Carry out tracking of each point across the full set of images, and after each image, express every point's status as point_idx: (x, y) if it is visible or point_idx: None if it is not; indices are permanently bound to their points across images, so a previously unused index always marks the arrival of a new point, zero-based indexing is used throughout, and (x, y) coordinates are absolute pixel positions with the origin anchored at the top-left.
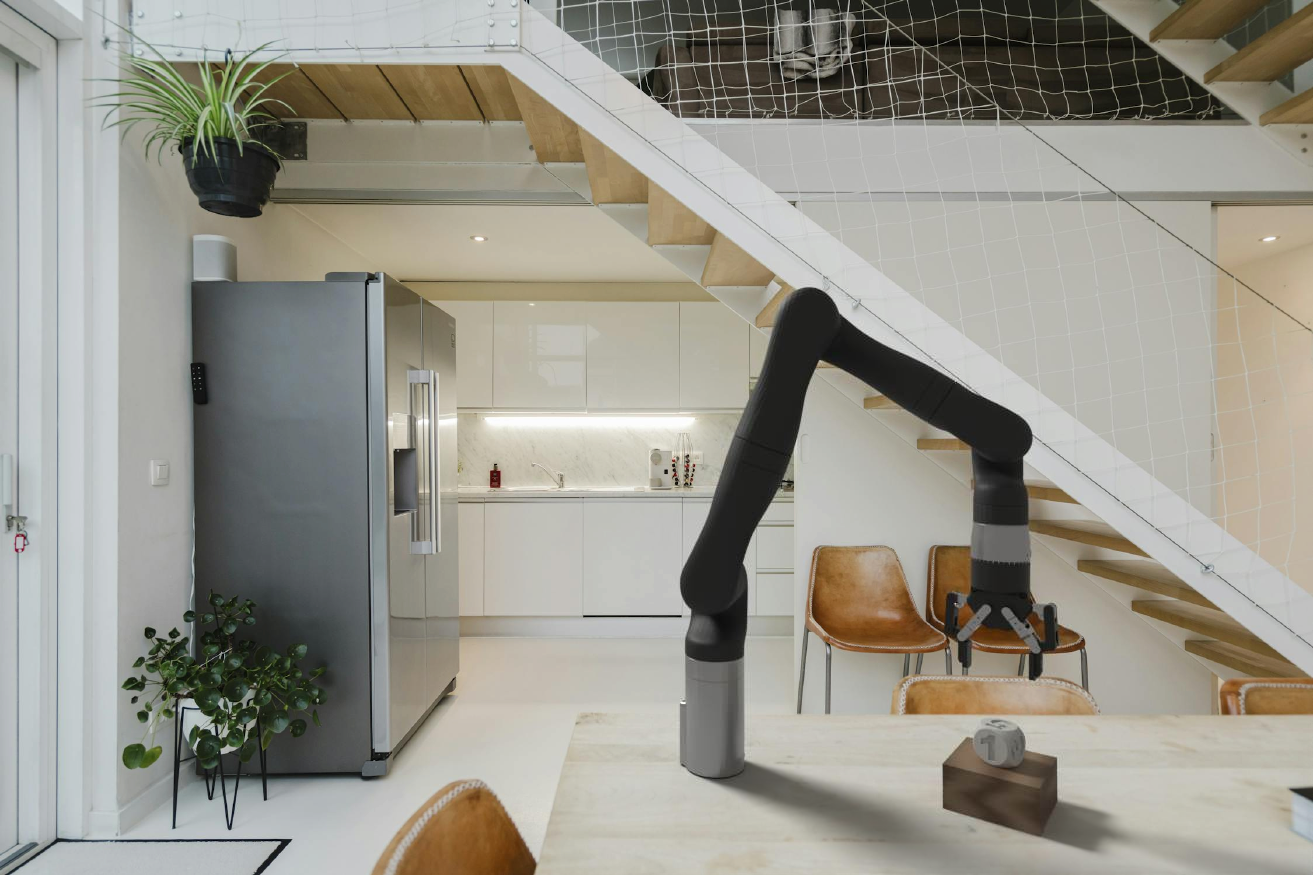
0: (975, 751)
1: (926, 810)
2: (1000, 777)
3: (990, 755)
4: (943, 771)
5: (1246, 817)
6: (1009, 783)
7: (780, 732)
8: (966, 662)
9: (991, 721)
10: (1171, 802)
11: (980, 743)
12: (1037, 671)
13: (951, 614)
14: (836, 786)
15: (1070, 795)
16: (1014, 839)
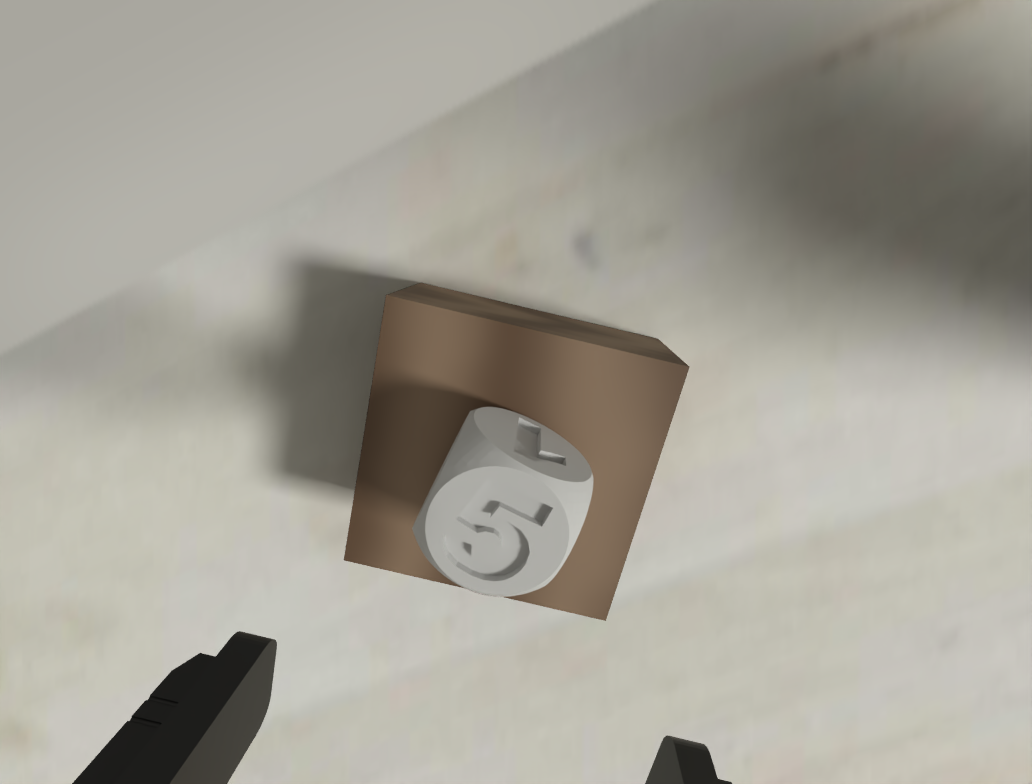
0: None
1: (701, 306)
2: (503, 331)
3: (533, 438)
4: (679, 359)
5: (20, 570)
6: (477, 314)
7: None
8: (684, 767)
9: (526, 560)
10: (153, 586)
11: (566, 459)
12: (184, 687)
13: None
14: (961, 348)
15: None
16: (480, 238)
